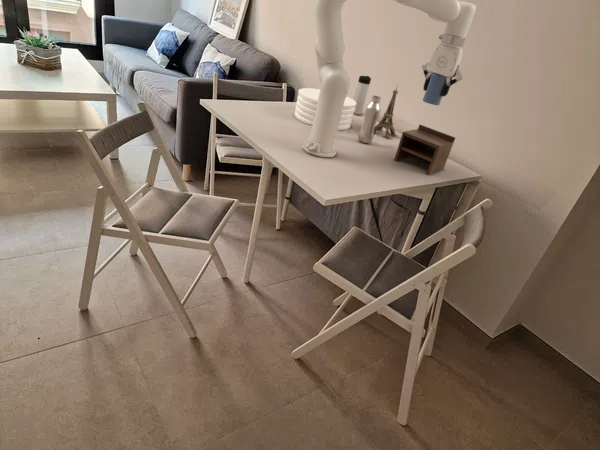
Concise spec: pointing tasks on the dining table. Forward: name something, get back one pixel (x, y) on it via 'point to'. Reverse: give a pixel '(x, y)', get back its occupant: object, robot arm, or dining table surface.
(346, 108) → the plate stack
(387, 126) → the eiffel tower
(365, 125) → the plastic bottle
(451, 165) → the dining table surface
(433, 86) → the jug
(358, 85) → the travel mug
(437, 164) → the shelf stand
